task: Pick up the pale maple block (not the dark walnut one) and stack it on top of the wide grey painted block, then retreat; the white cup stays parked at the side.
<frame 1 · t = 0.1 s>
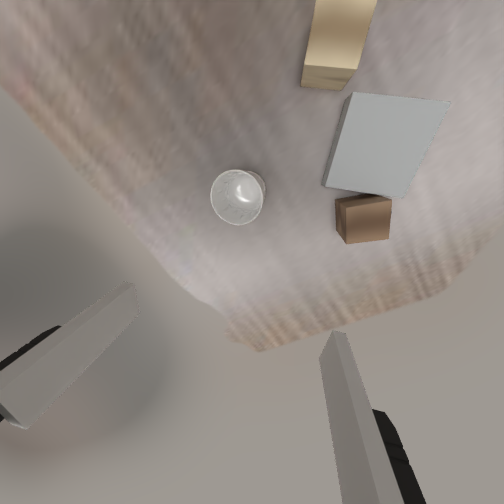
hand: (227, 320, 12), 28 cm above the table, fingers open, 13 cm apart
grey block: (369, 151, 30), on the table
maple block: (326, 61, 26), on the table
walnut block: (352, 212, 34), on the table
white cup: (249, 189, 35), on the table
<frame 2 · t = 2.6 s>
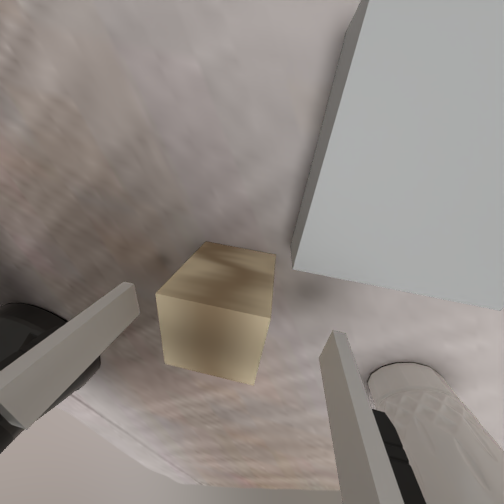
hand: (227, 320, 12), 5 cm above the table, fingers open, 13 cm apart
grey block: (404, 177, 12), on the table
maple block: (236, 276, 17), on the table
white cup: (401, 379, 20), on the table
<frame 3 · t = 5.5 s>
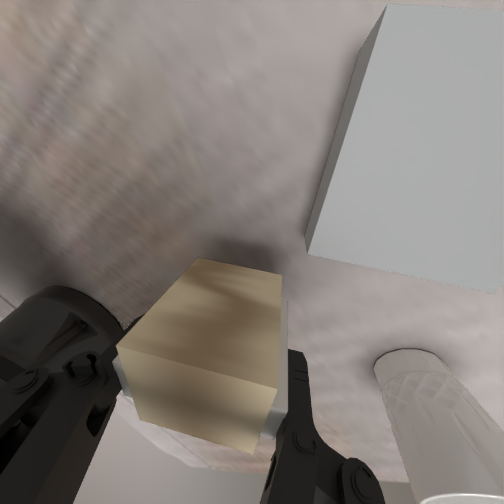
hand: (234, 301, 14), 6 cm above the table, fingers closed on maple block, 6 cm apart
grey block: (409, 175, 13), on the table
maple block: (235, 298, 14), point 5 cm above the table, touching gripper
white cup: (405, 366, 21), on the table
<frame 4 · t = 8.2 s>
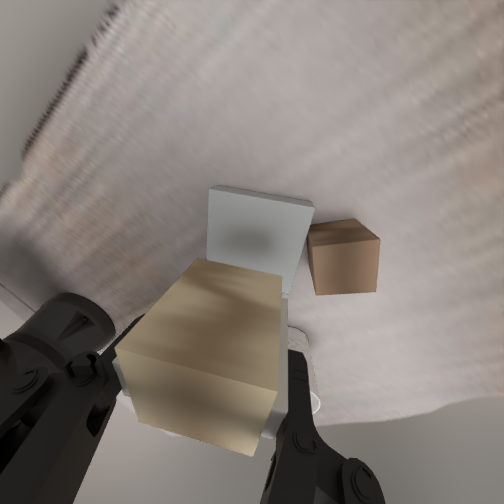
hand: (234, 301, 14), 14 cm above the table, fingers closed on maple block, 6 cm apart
grey block: (257, 235, 26), on the table
maple block: (235, 299, 14), point 14 cm above the table, touching gripper
walnut block: (330, 243, 25), on the table
white cup: (289, 338, 34), on the table
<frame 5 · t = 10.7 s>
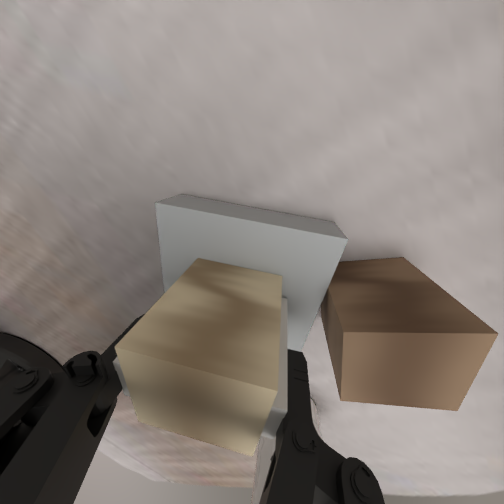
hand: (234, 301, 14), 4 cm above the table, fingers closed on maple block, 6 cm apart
grey block: (246, 268, 17), on the table, touching gripper
maple block: (235, 299, 14), point 3 cm above the table, touching gripper
walnut block: (357, 290, 16), on the table
white cup: (290, 401, 25), on the table
when the fingers open (4 cm above the table, at t = 10.9 s): maple block stays where it is, point 4 cm above the table.
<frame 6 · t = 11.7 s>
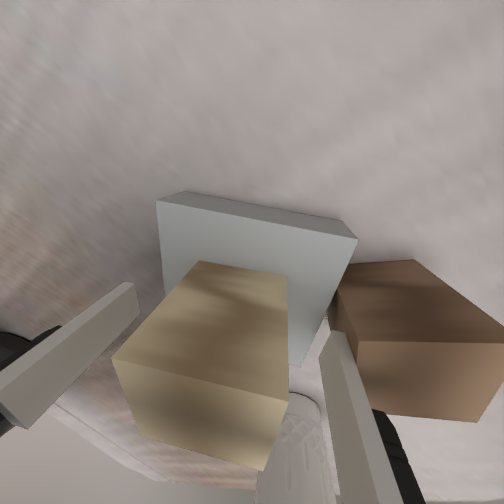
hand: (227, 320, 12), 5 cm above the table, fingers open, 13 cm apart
grey block: (250, 269, 17), on the table
maple block: (238, 302, 13), point 4 cm above the table
walnut block: (365, 294, 15), on the table, touching gripper
white cup: (292, 404, 25), on the table
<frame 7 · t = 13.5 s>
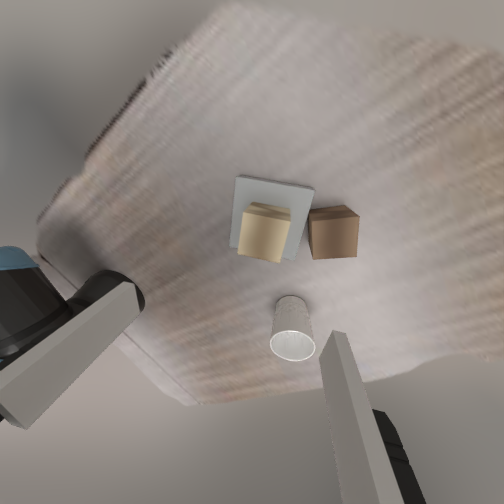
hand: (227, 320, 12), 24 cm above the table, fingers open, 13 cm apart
grey block: (269, 215, 33), on the table
maple block: (267, 223, 30), point 4 cm above the table
walnut block: (325, 224, 32), on the table
white cup: (291, 306, 41), on the table
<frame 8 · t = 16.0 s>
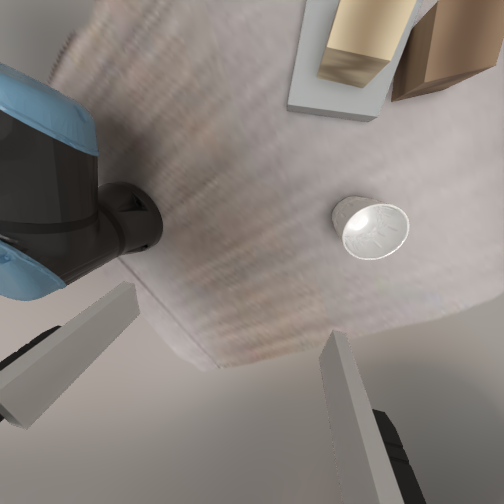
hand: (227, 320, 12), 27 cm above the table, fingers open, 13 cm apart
grey block: (340, 64, 25), on the table, touching maple block
maple block: (350, 50, 22), point 3 cm above the table, touching grey block
walnut block: (420, 67, 24), on the table
white cup: (350, 214, 33), on the table
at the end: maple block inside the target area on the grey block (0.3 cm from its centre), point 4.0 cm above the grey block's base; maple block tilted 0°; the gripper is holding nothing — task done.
